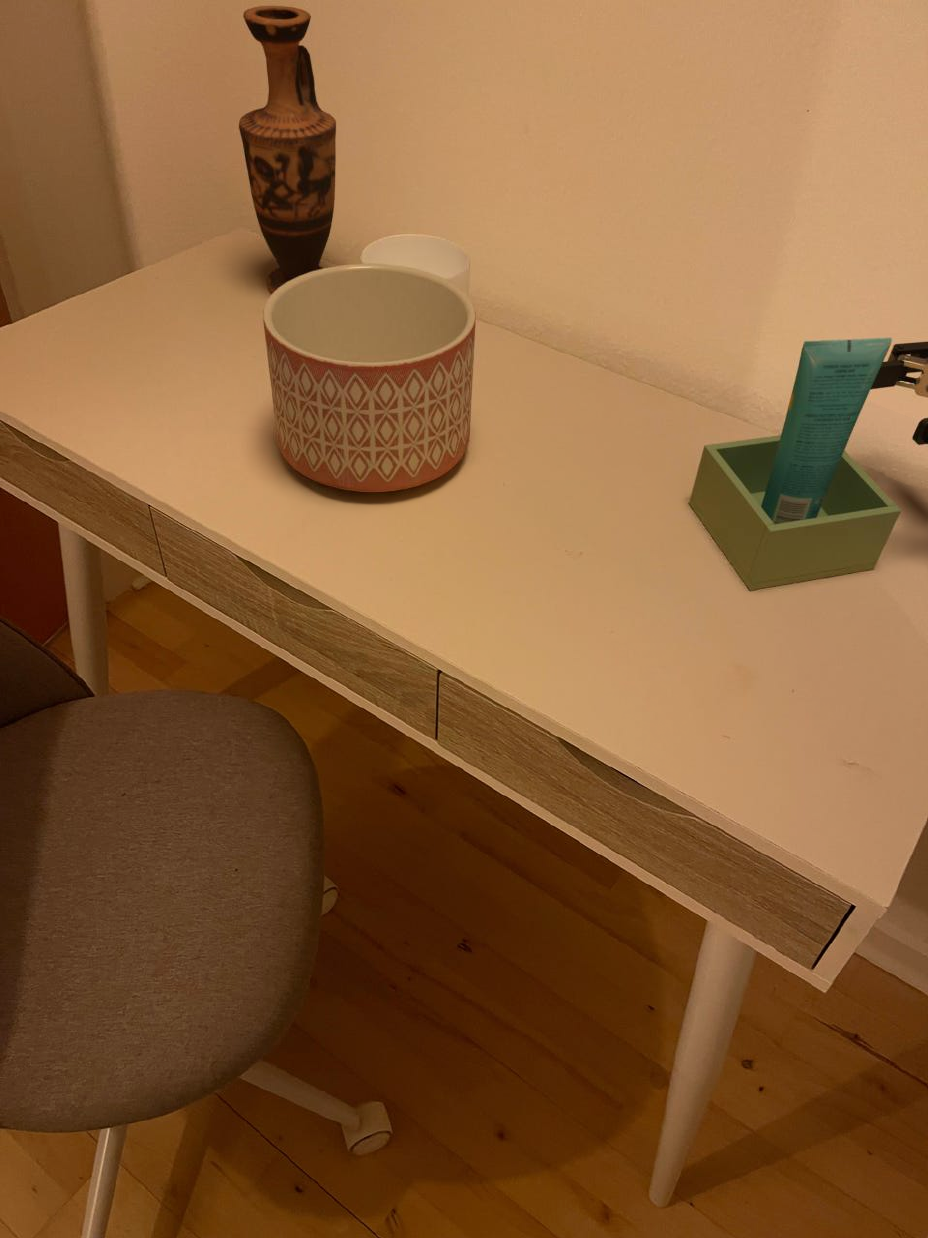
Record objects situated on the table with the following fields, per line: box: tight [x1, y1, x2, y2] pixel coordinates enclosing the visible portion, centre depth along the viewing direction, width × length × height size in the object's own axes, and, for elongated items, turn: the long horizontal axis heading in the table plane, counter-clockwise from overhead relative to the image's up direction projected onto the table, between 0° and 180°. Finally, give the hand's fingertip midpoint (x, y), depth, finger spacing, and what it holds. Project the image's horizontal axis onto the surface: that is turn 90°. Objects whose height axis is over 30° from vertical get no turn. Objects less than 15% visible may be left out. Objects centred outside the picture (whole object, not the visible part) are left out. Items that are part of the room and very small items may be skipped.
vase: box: [238, 5, 337, 294], centre depth 109 cm, size 11×11×30 cm
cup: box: [359, 233, 471, 298], centre depth 104 cm, size 12×12×12 cm
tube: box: [761, 337, 893, 524], centre depth 81 cm, size 7×5×19 cm, turn 104°
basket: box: [688, 434, 902, 591], centre depth 86 cm, size 13×13×7 cm
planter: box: [262, 263, 477, 493], centre depth 90 cm, size 19×19×15 cm
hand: (888, 404), depth 80 cm, fingers open, 8 cm apart
